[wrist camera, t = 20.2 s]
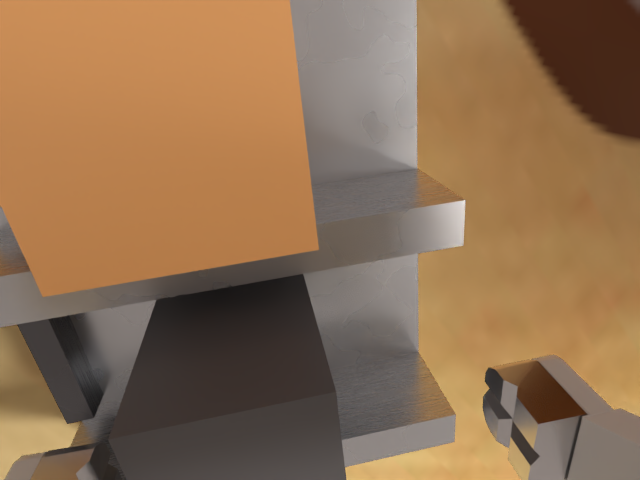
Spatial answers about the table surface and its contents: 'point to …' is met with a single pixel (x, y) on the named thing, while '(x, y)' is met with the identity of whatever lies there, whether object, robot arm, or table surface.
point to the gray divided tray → (317, 266)
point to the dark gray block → (231, 390)
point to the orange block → (151, 138)
